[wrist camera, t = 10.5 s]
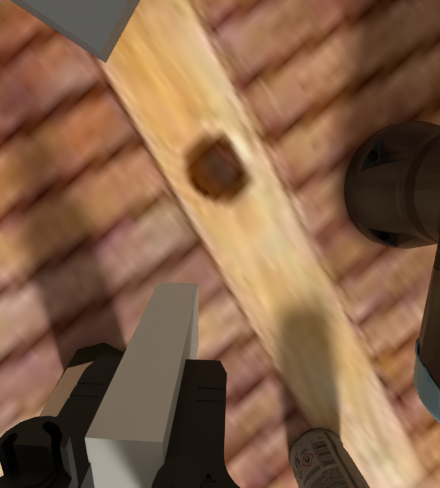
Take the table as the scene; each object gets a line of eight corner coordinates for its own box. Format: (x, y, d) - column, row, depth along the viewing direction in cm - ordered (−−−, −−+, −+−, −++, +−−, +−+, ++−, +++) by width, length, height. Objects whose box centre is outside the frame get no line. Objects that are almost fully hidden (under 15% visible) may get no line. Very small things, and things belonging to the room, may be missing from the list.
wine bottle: (93, 417, 43) (-70, 932, 13) (48, 370, 41) (-257, 848, 11) (148, 378, 43) (105, 803, 14) (106, 329, 41) (-51, 698, 12)
